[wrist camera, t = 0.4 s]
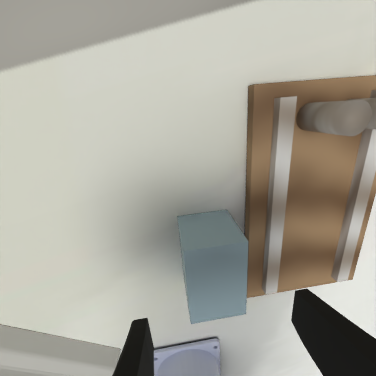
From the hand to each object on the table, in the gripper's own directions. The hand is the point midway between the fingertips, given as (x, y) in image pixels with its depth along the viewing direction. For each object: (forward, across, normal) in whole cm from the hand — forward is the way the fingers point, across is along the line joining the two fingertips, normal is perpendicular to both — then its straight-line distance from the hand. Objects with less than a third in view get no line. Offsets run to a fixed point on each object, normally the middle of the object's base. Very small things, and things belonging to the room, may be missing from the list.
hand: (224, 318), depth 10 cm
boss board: (+9, -11, -1) cm, 14 cm away
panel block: (+10, -1, +3) cm, 10 cm away
